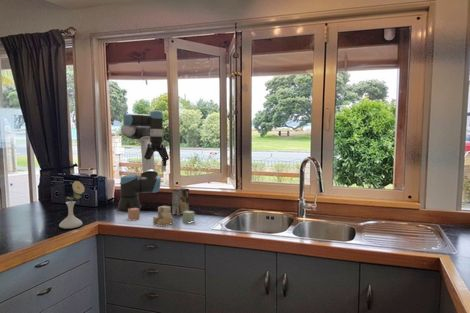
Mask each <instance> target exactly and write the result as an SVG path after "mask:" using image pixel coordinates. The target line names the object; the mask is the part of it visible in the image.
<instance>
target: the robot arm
mask: <svg viewBox="0 0 470 313" xmlns="http://www.w3.org/2000/svg"><path fill="white" fill-rule="evenodd" d="M122 120H123V121H122V123H123V124H122V126H121V128H120V132H121V134H122V136H124V137H125V138H127V139H130V140H138V143H139V144H140V150H141V151H140V154H141V164H142V165H141V166H142V172H141V174H140V175H139V174H137V173H133V174H132V173H131V174H127V175H123V176H121V178H120V181H119V182H120V183H119V186H120V188H119V190H120V195H119V196H120V198H119V201H118V205H117V211H121V212H128V209H131V208H138V209H140V210H141V209H142V204H141V201H140V198H139V194H148V193H158V192H159V191H160V189H161V185H162V182H161V181H162V177H161V175H159V173H158V172H157V171H156V165H155V164H156V163H155V152H157V153H158V154H159V156H160V158H161V159H162V160H161V172H166V170H167V161H169V160H170V158H169V153H168V151H167V148H166V144H164V143H163V140H164V139H163V135H164V134H163V133H164V130H163V129H164V127H163V126H164V125H163V124H164V123H163V122H164V114H163V111H162V110H150V113H149V114H142V113H141V114H139V113H138V114H137V113H124V114H123V118H122Z"/></svg>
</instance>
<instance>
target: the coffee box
mask: <svg viewBox="0 0 470 313" xmlns="http://www.w3.org/2000/svg"><path fill="white" fill-rule="evenodd" d="M171 195H172V197H171V205H172V206H171V210H172V214H171V215H174V214H177V215H176V216H178V215H179V216H181V215H180V214H183V212H185V211H190V206H189V205H190V190H189V188H186V187H185V188H184V187H182V188H181V187H180V188H176V189H175V188H174V189H172V190H171Z"/></svg>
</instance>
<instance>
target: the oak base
mask: <svg viewBox="0 0 470 313" xmlns="http://www.w3.org/2000/svg"><path fill="white" fill-rule="evenodd" d="M152 219H153V220H152V221H153V222H152V223H155V224H154V225H156V224H158V225H160V226H159V227H162V226H161V225H165V226H167V225H166V224H170V223H173V224H174V217H172V216H171V217H169V218H165V219H163V218H158V215H157V216H153V218H152ZM158 225H157V226H158ZM170 225H171V224H170Z"/></svg>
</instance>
